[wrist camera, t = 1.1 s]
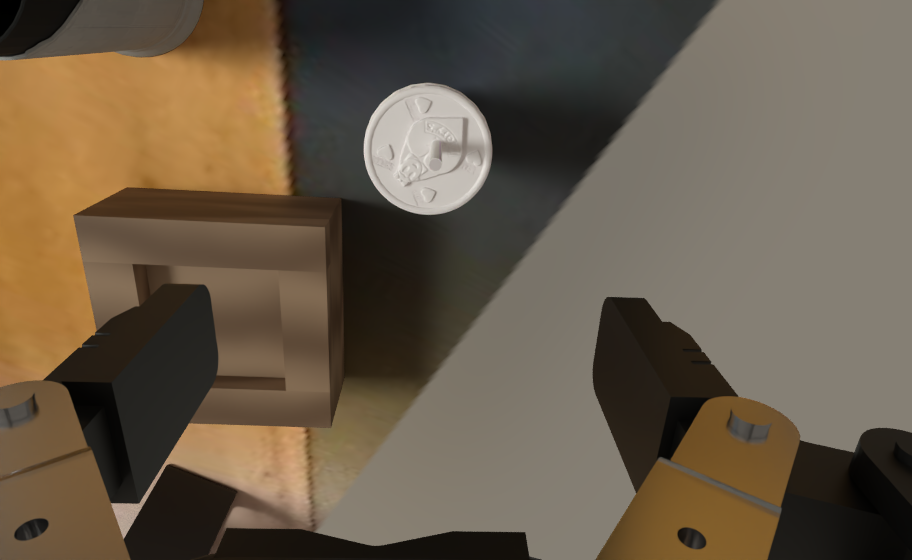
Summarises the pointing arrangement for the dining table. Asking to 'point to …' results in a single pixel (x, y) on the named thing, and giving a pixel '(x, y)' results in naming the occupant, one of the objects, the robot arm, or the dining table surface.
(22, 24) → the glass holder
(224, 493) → the phone stand
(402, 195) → the smoothie
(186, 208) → the walnut tray
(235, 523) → the dining table surface
